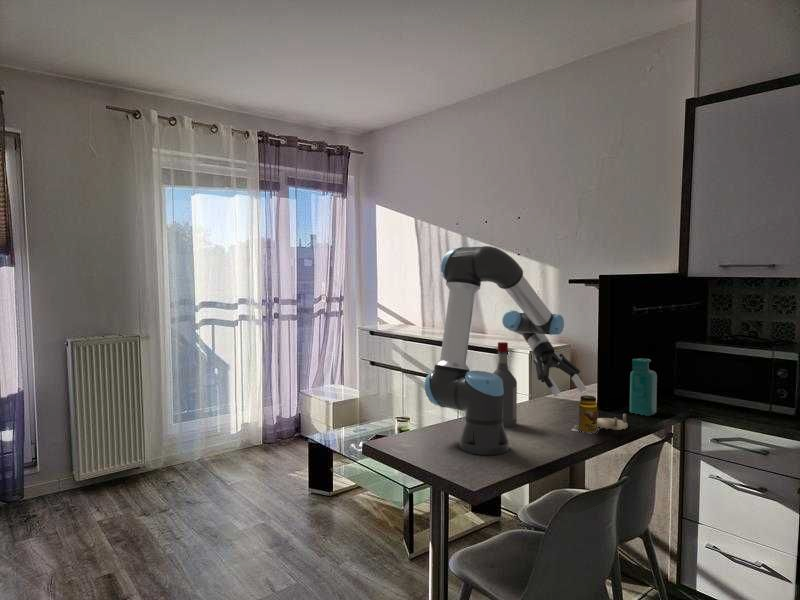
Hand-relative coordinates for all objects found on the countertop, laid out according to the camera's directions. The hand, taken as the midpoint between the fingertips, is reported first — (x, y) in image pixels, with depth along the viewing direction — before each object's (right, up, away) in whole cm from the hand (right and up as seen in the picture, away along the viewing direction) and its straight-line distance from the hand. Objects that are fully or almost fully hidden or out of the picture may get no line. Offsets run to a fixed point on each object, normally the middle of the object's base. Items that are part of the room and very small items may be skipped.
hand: (570, 392), depth 193 cm
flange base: (+14, -12, -1) cm, 18 cm away
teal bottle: (+34, -12, +17) cm, 40 cm away
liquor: (-25, -12, 0) cm, 28 cm away
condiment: (+3, -12, -7) cm, 14 cm away
